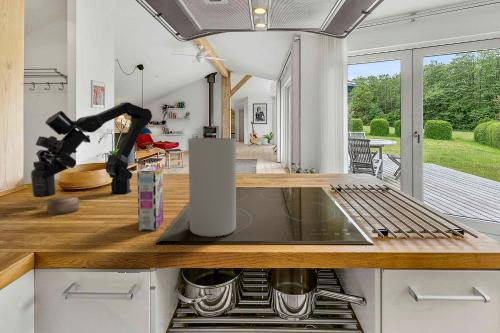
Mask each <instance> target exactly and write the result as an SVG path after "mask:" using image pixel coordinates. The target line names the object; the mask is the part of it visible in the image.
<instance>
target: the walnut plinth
mask: <svg viewBox="0 0 500 333" xmlns="http://www.w3.org/2000/svg"><path fill="white" fill-rule="evenodd" d="M79 206H80V205H79V197H77V196H59V197H58V196H57V197H52V198H49V199H47V200H46V210H47V211H46V212H47V214H48V215H50V216H51V215H52V216H61V215H63V216H64V215H69V214H73V213H76V212H78V211H79V210H80V207H79Z"/></svg>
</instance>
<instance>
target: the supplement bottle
mask: <svg viewBox="0 0 500 333" xmlns="http://www.w3.org/2000/svg"><path fill="white" fill-rule="evenodd" d="M32 163H33V165H32V166H33V169H32V170H31V171H30V178H31V179H30V180H31V188H32V191H31V192H32V197H34V198H48V197H53V196H55V195H56V194H57V193H56V192H57V189H56V188H57V187H56V178H55V175H52V176H50V177H48V178H46V179H43V178H42V176H43V174H44V173H45V171H46V170H47V168H48V167H49V166H50V161H39V160H38V161H33V162H32Z"/></svg>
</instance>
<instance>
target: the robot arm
mask: <svg viewBox="0 0 500 333" xmlns="http://www.w3.org/2000/svg"><path fill="white" fill-rule="evenodd" d="M125 114H126V115H127V116H129V117H130V126H129V128H128V130H127V132H126V134H125V136H124V138H123V140H122V142H121V144H120V146H119V148H118V150H117V152H116V153H115V154H114V155H112V154H111V155H109V157H108V159H107V161H106V162H105V167H104V169H105V171H106V173H107V174H108V175H109V177H110V178H111V182H110V183H111V184H110V187H111V192H110V194H112V195H115V194H117V195H121V194H123V195H126V194H129V193H131V192H132V191H133V190H132V189H131V185H130V184H131V183H130V182H131V181H130V180H131V179H132V178H133V173H132V172H131V171H130V170H129V168H128V167H129V156H130V154H131V152H132V151H133V149H134V146H135V144H136V143H137V140H138V138H139V136H140V134H141V133H142V132H141V131H142V130H143V129H144V128H145V127H147V126H148V125H149V123H150V122H151V121H152V118H153V114H152V110H150V109H149V108H143V107H141V106H138V105H135V104H133V103H131V102H127V101H125V102H120V104H117V105H115V106H113V107H111V108H107V110H104V111H102V112H99V113H96V114H91V115H87V116H82V117H78V119H76V120H72V119H70V118H69V116H67V115H66V114H65V112H64V111H63V110H58V111H57V112H56V113H54V114H53V115H51V116H49V117H48V118H47V119H46V121H45V125H47V126H48V127H49V128H51V130H53V131H54V132H55V133H56V134H57V135H59V136H60V135H63V136H64V137H62V139H59V140H58V138H57V137H56V136H54V135H53V136H52V135H51V136H48V137H46V136H38V137H37V140H36V142H35V146H38V147H42V148H45V149H38V151H37V152H36V153H35V155H36V156H37V158H38V161H50V166H49V167H48V168H47V170H46V171H45V173H44V174H43V176H42V178H43V179H46V178H48V177H50V176H52V175H54V176H55V175H57V174H58V173H59V174H60V172H63V171H66V170H68V169H73V168H74V167H75V166H76V165H77V160H76V159H75V158H73V156H71V155H72V154H76V153H77V152H78V150H77V149H78V148H79V146H80V145H81V144H82V143H83V142H84V143H89V144H90V143H91V139H90V137H91V136H90V135H89V134H88V135H86V134H85V133H94V132H96V131H97V130H99V129H100V128H101V127H103V125H104V124H106V123H107V122H110V121H112V120H114V119H116V118H118V117H121V116H123V115H125Z"/></svg>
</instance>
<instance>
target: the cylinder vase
mask: <svg viewBox="0 0 500 333" xmlns="http://www.w3.org/2000/svg"><path fill="white" fill-rule="evenodd" d="M187 144H188V181H189V182H188V184H189V185H188V191H189V193H188V196H189V197H188V198H189V230H190V232H191V233H192V234H194V235H196V236H200V237H205V236H206V237H207V238H215V237H216V236H217V237H222V236H223V235H224V236H227V235H230V234H232V233H234V231H235V230H236V228H237V175H236V174H237V138H233V137H231V138H229V137H228V138H227V137H194V138H193V137H191V138H188V143H187ZM224 236H223V237H224ZM217 237H216V238H217Z"/></svg>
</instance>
